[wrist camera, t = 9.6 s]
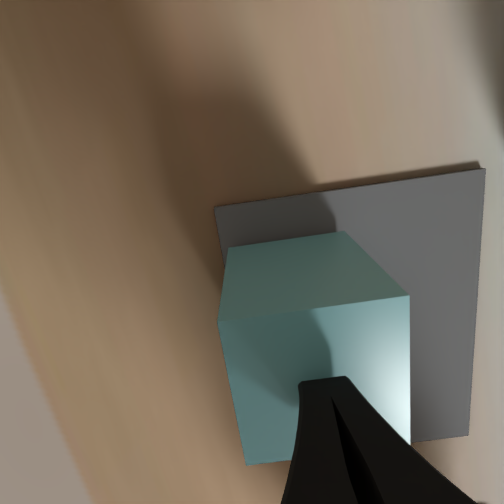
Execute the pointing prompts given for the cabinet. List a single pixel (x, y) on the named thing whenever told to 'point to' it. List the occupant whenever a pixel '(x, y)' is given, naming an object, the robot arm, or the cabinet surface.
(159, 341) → the cabinet surface
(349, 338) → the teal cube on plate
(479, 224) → the mat
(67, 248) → the cabinet surface
